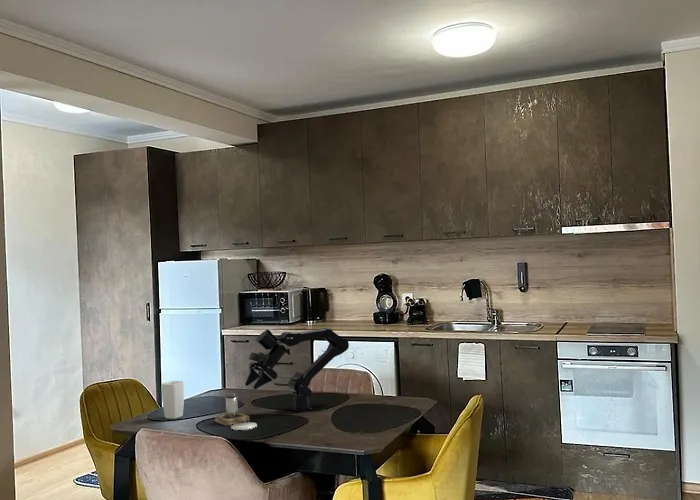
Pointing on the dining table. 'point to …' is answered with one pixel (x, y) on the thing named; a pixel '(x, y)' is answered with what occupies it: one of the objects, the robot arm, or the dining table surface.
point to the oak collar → (226, 422)
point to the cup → (173, 399)
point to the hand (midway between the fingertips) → (249, 386)
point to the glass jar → (231, 406)
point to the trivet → (244, 426)
